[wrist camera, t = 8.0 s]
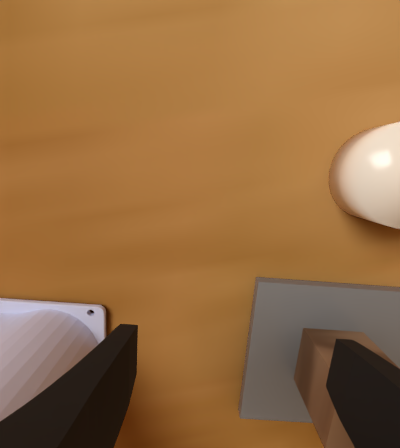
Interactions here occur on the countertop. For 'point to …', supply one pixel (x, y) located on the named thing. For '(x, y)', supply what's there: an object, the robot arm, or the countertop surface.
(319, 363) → the walnut block
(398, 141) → the cream egg shape
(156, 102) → the countertop surface
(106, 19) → the countertop surface
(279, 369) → the plate
